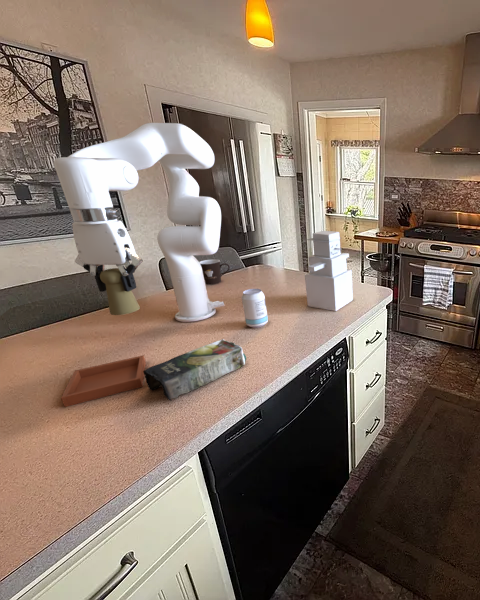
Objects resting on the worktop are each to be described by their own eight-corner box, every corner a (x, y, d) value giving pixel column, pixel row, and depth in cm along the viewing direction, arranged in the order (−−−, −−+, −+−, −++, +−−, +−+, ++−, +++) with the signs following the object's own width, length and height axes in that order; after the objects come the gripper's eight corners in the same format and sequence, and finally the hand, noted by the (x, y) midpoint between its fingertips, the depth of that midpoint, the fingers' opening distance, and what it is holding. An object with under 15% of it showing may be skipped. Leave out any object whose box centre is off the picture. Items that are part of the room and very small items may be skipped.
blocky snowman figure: (298, 311, 122) (290, 236, 112) (333, 292, 142) (328, 227, 132) (327, 316, 117) (321, 239, 107) (359, 296, 138) (356, 229, 128)
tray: (145, 362, 87) (143, 355, 87) (142, 386, 78) (139, 378, 77) (78, 378, 80) (74, 370, 80) (64, 407, 71) (60, 397, 70)
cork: (123, 316, 80) (109, 273, 76) (103, 314, 81) (88, 271, 77) (145, 307, 86) (133, 266, 82) (126, 305, 87) (114, 265, 83)
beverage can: (254, 319, 114) (249, 287, 110) (272, 321, 113) (267, 288, 109) (242, 327, 108) (235, 294, 104) (260, 330, 107) (255, 295, 102)
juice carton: (228, 353, 92) (224, 333, 90) (250, 363, 88) (246, 343, 85) (148, 390, 76) (140, 368, 74) (169, 405, 72) (162, 382, 69)
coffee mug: (198, 284, 150) (193, 263, 146) (211, 279, 158) (207, 259, 154) (221, 286, 148) (217, 264, 145) (233, 280, 156) (229, 260, 152)
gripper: (144, 214, 79) (163, 284, 85) (70, 213, 78) (95, 285, 84) (121, 218, 72) (143, 294, 78) (39, 217, 71) (69, 295, 77)
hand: (118, 289), depth 81 cm, fingers closed on cork, 5 cm apart
